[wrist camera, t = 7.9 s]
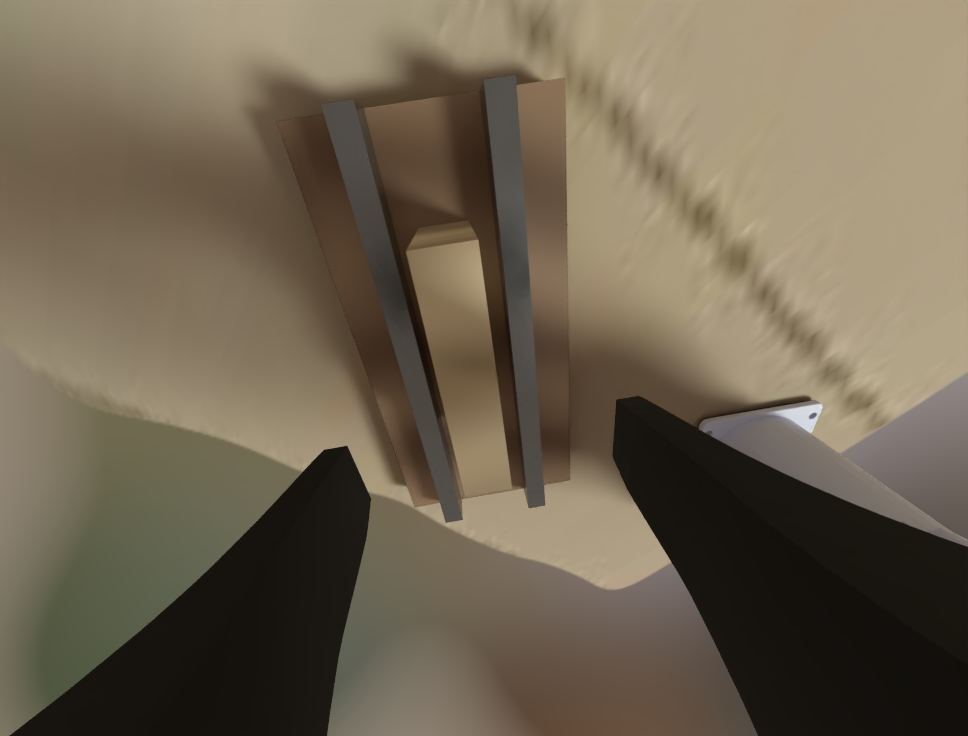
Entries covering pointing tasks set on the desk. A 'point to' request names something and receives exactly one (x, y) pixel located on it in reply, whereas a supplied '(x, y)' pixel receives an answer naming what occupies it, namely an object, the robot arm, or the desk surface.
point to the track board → (503, 248)
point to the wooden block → (462, 350)
